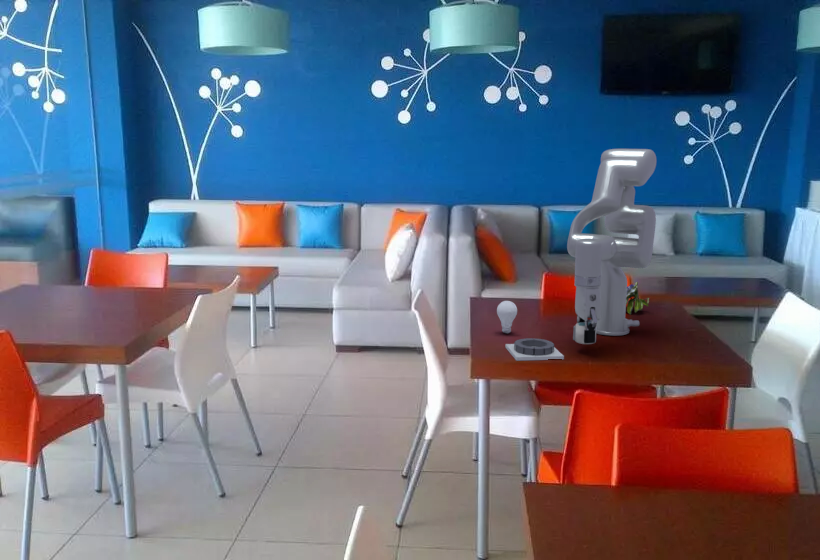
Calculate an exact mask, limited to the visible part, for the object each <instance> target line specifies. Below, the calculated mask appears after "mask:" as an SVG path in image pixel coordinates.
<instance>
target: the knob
mask: <svg viewBox="0 0 820 560" xmlns="http://www.w3.org/2000/svg"><path fill="white" fill-rule="evenodd" d="M590 323H591V322H588V325H589V324H590ZM575 326H576V336H575V340H574V341H575V343H578V344H582V345H592V344H594V343H584V330H586V328H585V322H580V323H577V322H576V324H575ZM596 342H597V333H596V330H595V343H596Z"/></svg>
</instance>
